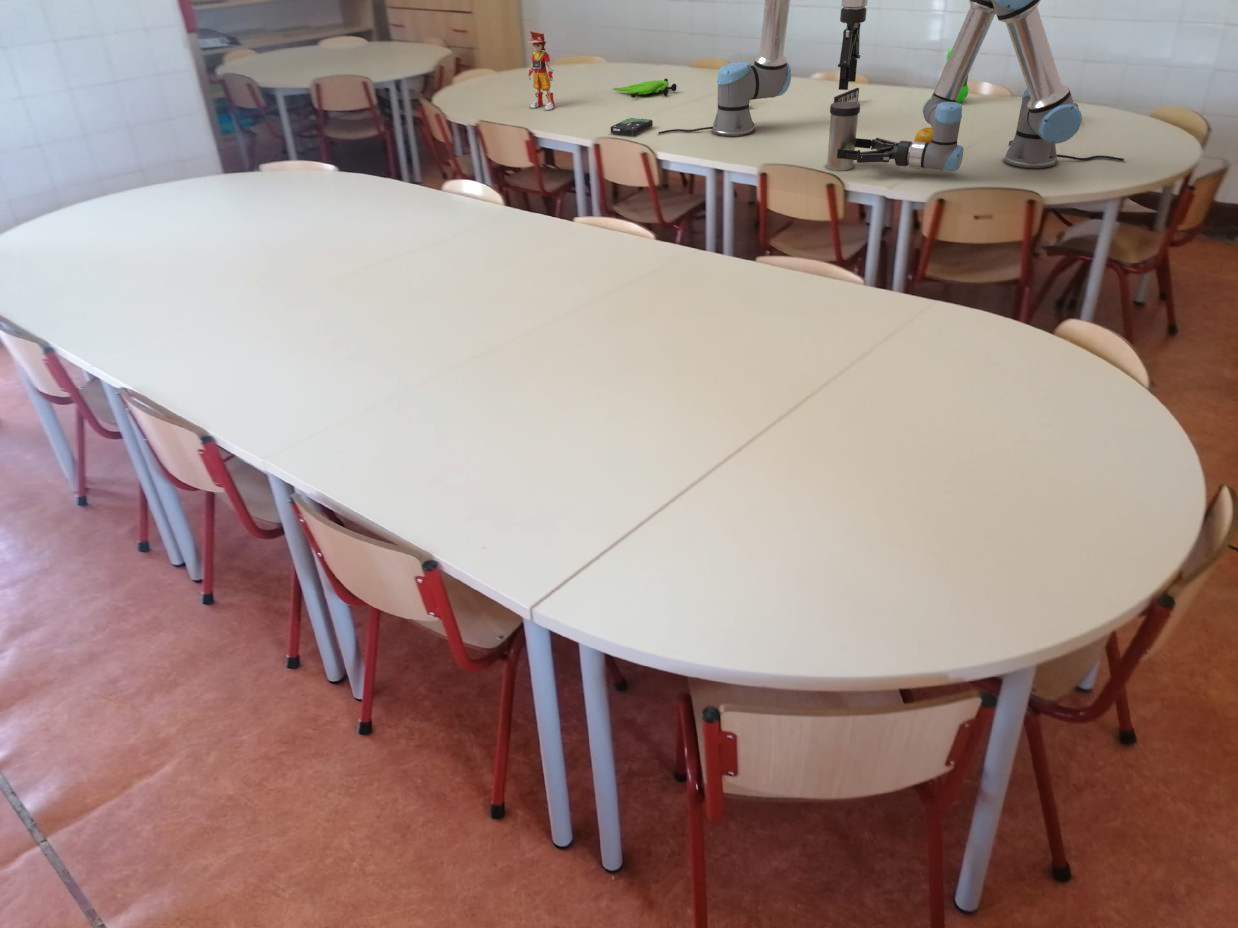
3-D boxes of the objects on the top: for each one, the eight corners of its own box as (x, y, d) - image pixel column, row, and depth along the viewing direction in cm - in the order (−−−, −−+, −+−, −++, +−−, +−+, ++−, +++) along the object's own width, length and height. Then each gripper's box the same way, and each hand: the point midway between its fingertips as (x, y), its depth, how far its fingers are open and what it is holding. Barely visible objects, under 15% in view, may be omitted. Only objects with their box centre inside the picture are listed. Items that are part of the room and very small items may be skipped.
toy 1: (525, 109, 381) (517, 32, 364) (534, 104, 388) (527, 28, 371) (550, 110, 377) (543, 32, 360) (559, 105, 384) (553, 28, 367)
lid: (865, 111, 285) (866, 104, 283) (848, 117, 280) (849, 110, 278) (840, 107, 290) (841, 100, 289) (824, 113, 285) (824, 106, 284)
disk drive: (633, 137, 337) (653, 126, 347) (633, 129, 336) (652, 119, 346) (610, 134, 342) (630, 124, 352) (609, 127, 340) (630, 117, 350)
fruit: (909, 141, 301) (924, 120, 298) (910, 144, 309) (925, 123, 306) (930, 155, 300) (945, 134, 297) (930, 158, 308) (946, 137, 305)
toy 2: (686, 85, 398) (631, 84, 414) (685, 72, 395) (629, 72, 411) (651, 104, 381) (596, 103, 397) (650, 92, 378) (594, 91, 394)
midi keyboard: (835, 110, 353) (837, 97, 350) (833, 110, 354) (834, 97, 351) (858, 101, 363) (859, 88, 361) (855, 101, 364) (856, 88, 361)
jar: (858, 166, 295) (864, 105, 284) (843, 172, 290) (848, 111, 279) (836, 161, 300) (841, 102, 289) (821, 167, 295) (826, 107, 284)
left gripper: (849, 1, 278) (842, 77, 290) (832, 13, 261) (826, 93, 273) (873, 1, 275) (866, 77, 288) (858, 14, 258) (851, 94, 270)
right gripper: (897, 177, 274) (830, 170, 284) (919, 155, 292) (855, 149, 301) (900, 153, 270) (832, 146, 279) (922, 131, 287) (857, 126, 297)
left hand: (847, 85), depth 280 cm, fingers open, 11 cm apart
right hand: (844, 148), depth 290 cm, fingers open, 13 cm apart
